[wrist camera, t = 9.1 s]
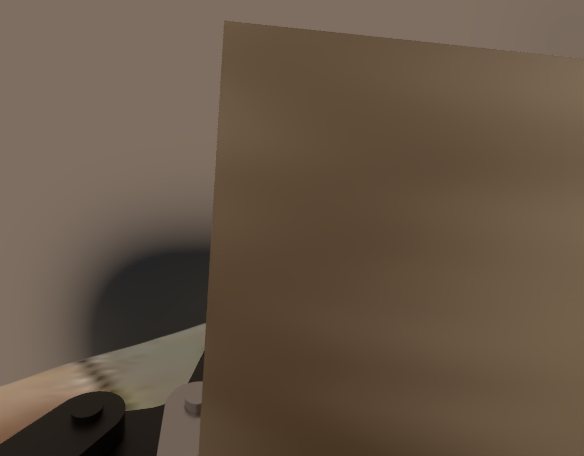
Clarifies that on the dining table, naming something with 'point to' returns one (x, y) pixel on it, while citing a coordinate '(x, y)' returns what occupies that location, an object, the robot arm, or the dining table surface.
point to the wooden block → (394, 250)
